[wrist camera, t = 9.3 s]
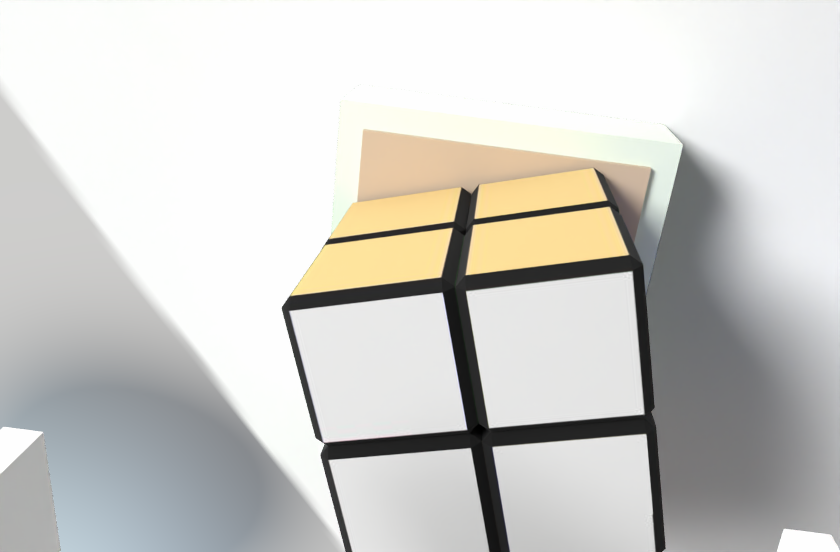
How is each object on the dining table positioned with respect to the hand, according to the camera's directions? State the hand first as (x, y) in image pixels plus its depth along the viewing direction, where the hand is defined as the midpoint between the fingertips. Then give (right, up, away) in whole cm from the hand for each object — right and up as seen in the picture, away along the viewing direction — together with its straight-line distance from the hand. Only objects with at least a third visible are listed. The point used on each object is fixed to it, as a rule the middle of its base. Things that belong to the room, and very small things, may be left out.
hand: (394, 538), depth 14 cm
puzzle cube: (+3, +4, +18) cm, 19 cm away
